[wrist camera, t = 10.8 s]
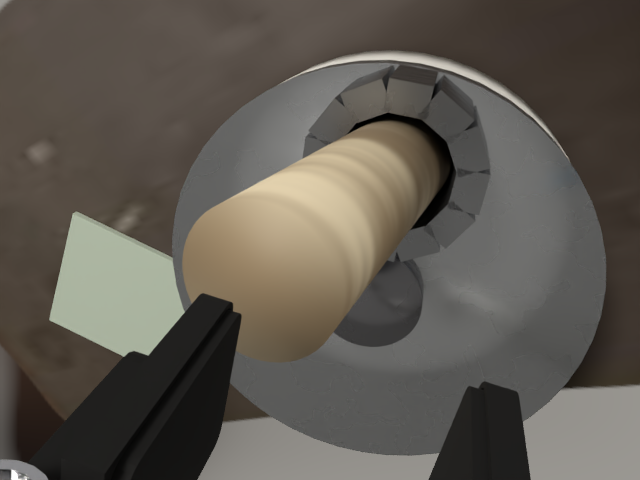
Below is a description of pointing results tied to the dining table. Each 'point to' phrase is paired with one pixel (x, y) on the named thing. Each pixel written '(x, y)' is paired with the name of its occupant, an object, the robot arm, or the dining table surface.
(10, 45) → the dining table surface
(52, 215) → the dining table surface
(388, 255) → the beige cylinder
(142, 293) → the mat
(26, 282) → the dining table surface
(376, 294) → the chuck collar
